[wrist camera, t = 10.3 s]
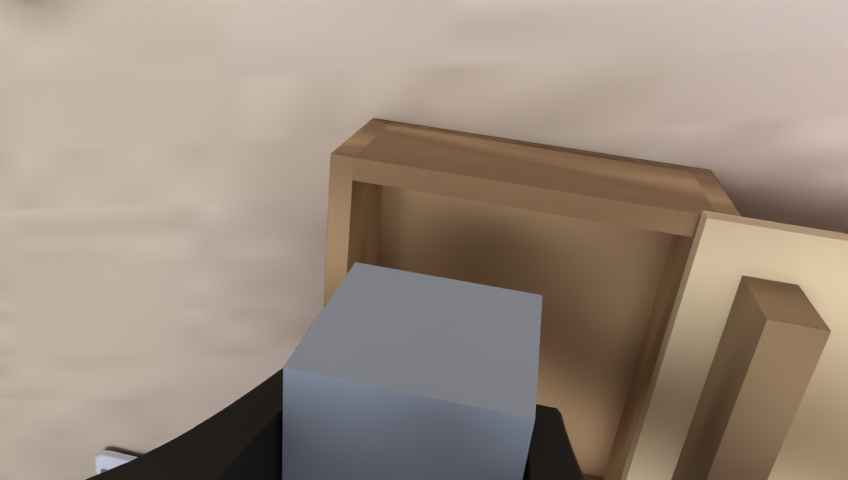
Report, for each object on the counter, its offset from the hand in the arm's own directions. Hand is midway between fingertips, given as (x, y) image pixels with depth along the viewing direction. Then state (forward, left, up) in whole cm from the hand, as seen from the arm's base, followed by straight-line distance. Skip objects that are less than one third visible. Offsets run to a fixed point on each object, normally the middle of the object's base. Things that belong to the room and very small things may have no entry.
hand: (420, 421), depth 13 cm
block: (0, 0, -2) cm, 2 cm away
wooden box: (-2, -1, -9) cm, 9 cm away
